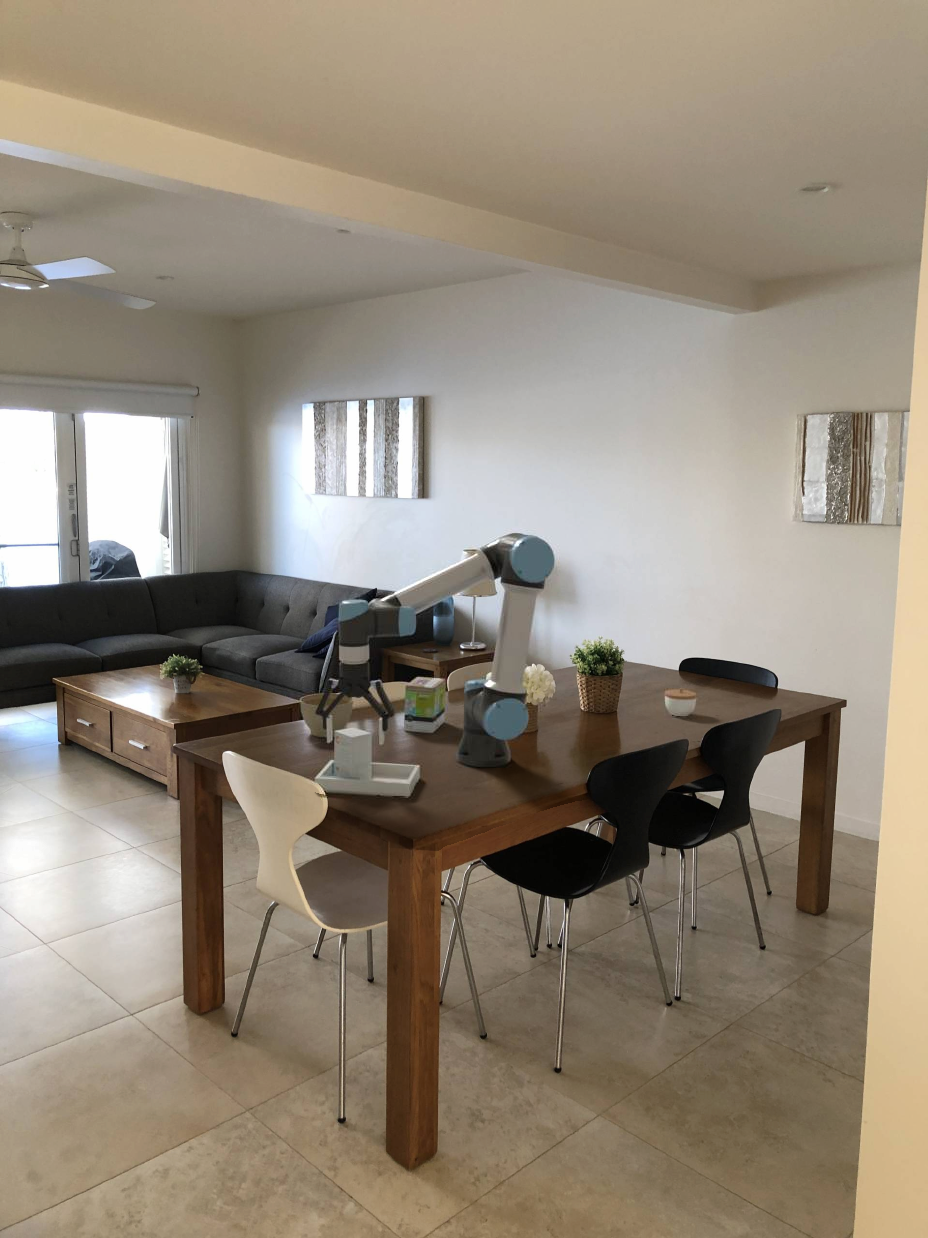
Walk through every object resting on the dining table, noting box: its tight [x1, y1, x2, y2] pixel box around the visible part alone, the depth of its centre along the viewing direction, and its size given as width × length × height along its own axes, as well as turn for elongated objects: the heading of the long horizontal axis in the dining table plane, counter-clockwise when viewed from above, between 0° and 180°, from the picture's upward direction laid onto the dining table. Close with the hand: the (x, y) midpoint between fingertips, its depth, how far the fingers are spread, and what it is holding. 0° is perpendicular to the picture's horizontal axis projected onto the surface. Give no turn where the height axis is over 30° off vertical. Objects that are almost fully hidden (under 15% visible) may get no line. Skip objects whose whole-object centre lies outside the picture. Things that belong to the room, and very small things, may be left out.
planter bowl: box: [299, 692, 354, 738], centre depth 300 cm, size 16×16×11 cm
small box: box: [333, 727, 373, 780], centre depth 253 cm, size 8×6×13 cm
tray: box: [314, 759, 421, 798], centre depth 253 cm, size 24×16×4 cm, turn 83°
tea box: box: [403, 676, 447, 734], centre depth 312 cm, size 15×10×15 cm, turn 168°
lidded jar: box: [664, 687, 698, 717], centre depth 336 cm, size 11×11×9 cm
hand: (355, 742), depth 252 cm, fingers open, 13 cm apart
